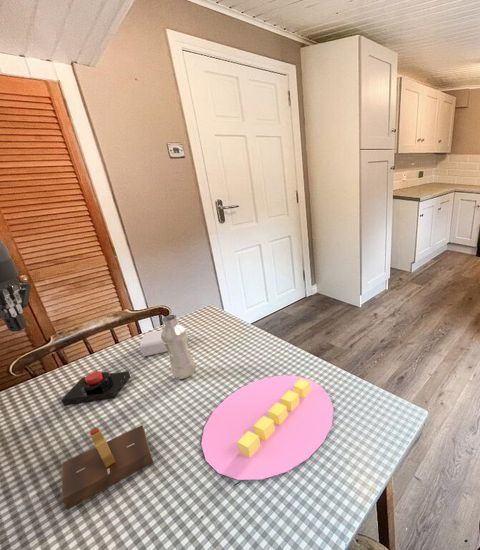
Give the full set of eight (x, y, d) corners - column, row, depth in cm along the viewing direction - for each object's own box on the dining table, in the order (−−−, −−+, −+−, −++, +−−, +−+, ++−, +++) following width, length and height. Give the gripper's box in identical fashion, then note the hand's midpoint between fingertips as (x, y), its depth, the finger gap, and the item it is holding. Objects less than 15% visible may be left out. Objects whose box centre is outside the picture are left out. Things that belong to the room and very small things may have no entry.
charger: (194, 346, 106) (143, 358, 101) (195, 333, 114) (148, 343, 108) (191, 335, 105) (139, 346, 99) (193, 322, 112) (145, 332, 107)
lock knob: (115, 462, 63) (105, 440, 61) (106, 467, 62) (95, 446, 60) (107, 447, 67) (98, 426, 64) (98, 452, 65) (88, 431, 63)
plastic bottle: (193, 364, 97) (178, 309, 90) (200, 374, 93) (185, 318, 85) (170, 374, 93) (153, 317, 86) (176, 385, 89) (159, 326, 81)
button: (83, 386, 84) (81, 381, 83) (91, 377, 87) (89, 372, 86) (98, 384, 84) (96, 379, 84) (106, 375, 88) (104, 370, 87)
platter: (355, 396, 84) (355, 387, 83) (276, 509, 58) (274, 497, 56) (267, 364, 97) (266, 355, 96) (170, 443, 71) (167, 433, 70)
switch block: (64, 405, 82) (58, 394, 80) (85, 383, 90) (80, 372, 88) (114, 398, 84) (110, 387, 82) (130, 376, 92) (126, 366, 91)
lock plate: (67, 509, 58) (61, 499, 57) (67, 472, 65) (62, 461, 63) (153, 462, 67) (149, 452, 65) (145, 433, 73) (142, 424, 72)
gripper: (-24, 269, 59) (15, 343, 66) (29, 249, 71) (58, 314, 78) (-73, 272, 58) (-28, 348, 64) (-9, 251, 70) (23, 317, 76)
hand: (19, 329), depth 71 cm, fingers closed
